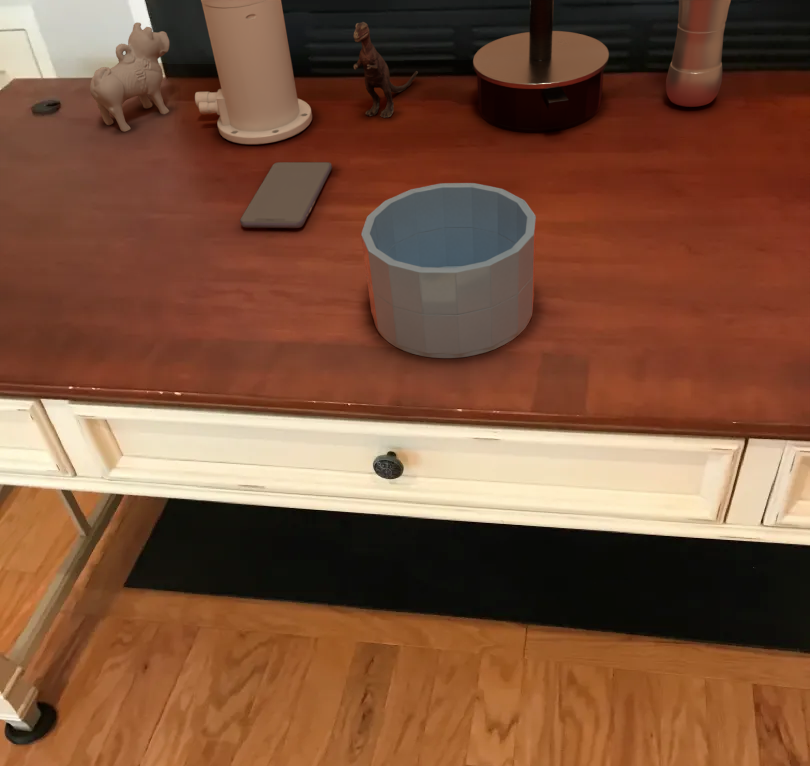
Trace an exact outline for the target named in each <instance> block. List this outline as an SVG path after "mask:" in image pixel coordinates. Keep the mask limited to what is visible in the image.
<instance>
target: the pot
mask: <svg viewBox="0 0 810 766" xmlns="http://www.w3.org/2000/svg"><path fill="white" fill-rule="evenodd" d="M536 230H537V215H536V214H535V213H534V211H533V210H532V208H531V207H530V205H529V204H528V202H527V201H526V200H525V199H523V198H521V197H519V196H517V195H516V194H513V193H511V192H510V191H508V190H506V189H504V188H501V187H495V186H491V185H487V184H482V183H481V184H480V183H475V182H444V183H443V182H440V183H436V184H431V185H426V186H420V187H416V188H411V189H409V190H407V191H406V190H405V191H404V192H401V193H400V194H397V195H395V196H393V197H390V198H388V199H386V200H384V201H383V202H382V203H381V204H379V205H378V206H377V207H376V208H375V209H373V210H372V211H371V212H370V213H369V214H368V215H367V216H366V219H365V222H364V225H363V227H362V230H361V233H360V234H361V243H362V251H363V258H364V260H363V261H364V265H365V274H366V281H367V289H368V298H369V305H370V313H371V315H372V318H373V322H374V326H375V328H376V330H377V332H378V333H379V334H380V336H381V337H382V338H383V339H384V340H385V341H386V342H387V343H389V344H390V345H392V346H394V347H395V348H397V349H399V350H400V351H404V352H405V353H408V354H413V355H416V356H420V357H424V358H425V357H427V358H432V359H460V358H468V357H473V356H478V355H482V354H486V353H488V352H491V351H494V350H496V349H498V348H501V347H503V346H505V345H506V344H508V343H510V342H511V341H513V340H514V339H516V338H517V337H518V336H520V335H521V333H522V332H523V331H524V330H526V328H527V326H528V325H529V324H530V321H531V319H532V316H533V312H534V301H535V300H534V299H535V274H536V273H535V271H536V270H535V268H536V267H535V266H536V233H537V231H536Z"/></svg>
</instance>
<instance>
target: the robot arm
mask: <svg viewBox="0 0 810 766" xmlns="http://www.w3.org/2000/svg"><path fill="white" fill-rule="evenodd" d="M200 2H201V7H202V10H203V15H204V18H205V24H206V28H207V32H208V37H209V40H210V45H211V49H212V54H213V58H214V62H215V67H216V68H215V69H216V71H217V75H218V81H219V84H220V88H219V89H217V91H214V92H212V91H211V92H210V91H196V92H195V94H194V102H195V105H196V107H197V108H198V111H199V113H200V114H201V115H202V114H205V115H207V114H216V115H218V116H219V117H218V119H217V121H216V122H217V129H218V133H219V134H220V136H222V138H223V139H226V140H227V141H228V142H232V143H235V144H240V145H266V144H272V143H277V142H280V141H285V140H287V139H289V138H292V137H294V136H296V135H298V134H300V133H302V132H303V131H304V130H306V129H307V128H308V127H309V126H310V124H311V122H312V121H313V113H312V108H311V106H310V104H308V102H306V101H305V100H303V99H300V98H298V93H297V88H296V82H295V75H294V69H293V63H292V57H291V52H290V46H289V41H288V34H287V28H286V22H285V16H284V11H283V4H282V0H200Z"/></svg>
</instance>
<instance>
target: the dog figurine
mask: <svg viewBox="0 0 810 766" xmlns="http://www.w3.org/2000/svg"><path fill="white" fill-rule="evenodd" d="M127 41H128V42H127V44H126V43H119V44H118V45H117V46H116V47H115V54H116V58H117V60H118V63H117V64H115V65H114V66H112V67H108V66H103V67H100V68H98V69H96V70H95V71H94V74H93V76H92V78H91V80H90V84H89V91H90V92H89V93H90V95H91V96H92V98H93V99H94V100H95V102H96V106H97V108H98V110H99V112H100V115H101V118H102V120H103V122H104V123H105V125H106V126H110V125H113V124H114V120H113V118H114V119H115V120H116V122H117V124H118V127H119V129H120V131H121V132H128V131H130V130H131V127H130V125H129V124H128V123H127V122H126V119H125V115H124V110H123V109H124V108H123V104H124V103H125V102H126V101H128V100H129V99H132V98H134V97H138V99H139V101H140V102H141V104H142V107H143V108H144V109H150V108H152V107H153V104H154V105H155V106H156V108H157V109H158V111H159V113H160V114H161V115H166V114H168V113H169V112H170V110H169V109H168V107H167V106H166V105H165V103H164V100H163V99H164V98H163V96H162V93H161V88H162V87H161V86H162V81H163V79H164V73H163V69H162V67H161V65H160V62H159V59H160V58H161V57H162V56H164V55H165V54H166V53H168V52H169V49H170V38H169V37H168V33H167V32H165V31H159V32H155V31H153V28H152V27H150V26H145V27H144V28H142V23H141V22H137V21H136V22H135V23H134V24H133V26H132V31H131V33H130V34H129V36H128V39H127ZM124 52H125V54H124ZM149 97H150V98H149ZM150 99H151V100H152V101H151V100H150ZM110 114H111V115H110ZM111 116H113V118H112V117H111Z"/></svg>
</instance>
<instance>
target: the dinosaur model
mask: <svg viewBox="0 0 810 766" xmlns="http://www.w3.org/2000/svg"><path fill="white" fill-rule="evenodd" d="M354 26H355V29H354V32H353V39H354V41H355V43H361V50H360V51H359V54H358V59H357V62H356V63H354V64H353V69H354V71H357V69H361V67H362V68H363V72H364V84H365V89H366V91H367V93H368V94H369V95H370V97H371V98H372V106H371V108H370V109H368V110H366V111H365V116H369V117H371V116H376V114H377V113H378V111H379V108H380V104H381V97H380V96H379V95H378V93H377V91H375V89H381V90H382V91H383V94H384V97H385V98H386V106H385V108H384V109H383V110H382V111H381V112H380V117H382V118H383V119H384V118H390V117H391V116H392V115H393V113H394V106H395V105H394V103H395V102H394V99H393V96H392V95H393V94H392V93H394V94H398V93H401V92H403V91H405V90H406V89H407V88H409V86H411V84H412V83H413V81H414V80H415V79H416V78H417V74H418V73H419V71H417V70H416V71H415V72H414V73H412V76H411V77H410V78H409V80H407V81H406V83H405V84H403V85H394V84H393V83H392V82H391V77H390V76H391V74H390V70H389V69H390V68H389V66H388V64H387V62H386V61H385V59H384V58H383V56H382V55H381V54H380V53H379V52H378V51H377V49H376V47H375V45H374V44H373V43H372V41H371V40H372V39H371V34H370V28H369V25H368V24H367V23H366V22H365V21H362V22H357V23H356V24H355V25H354Z"/></svg>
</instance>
